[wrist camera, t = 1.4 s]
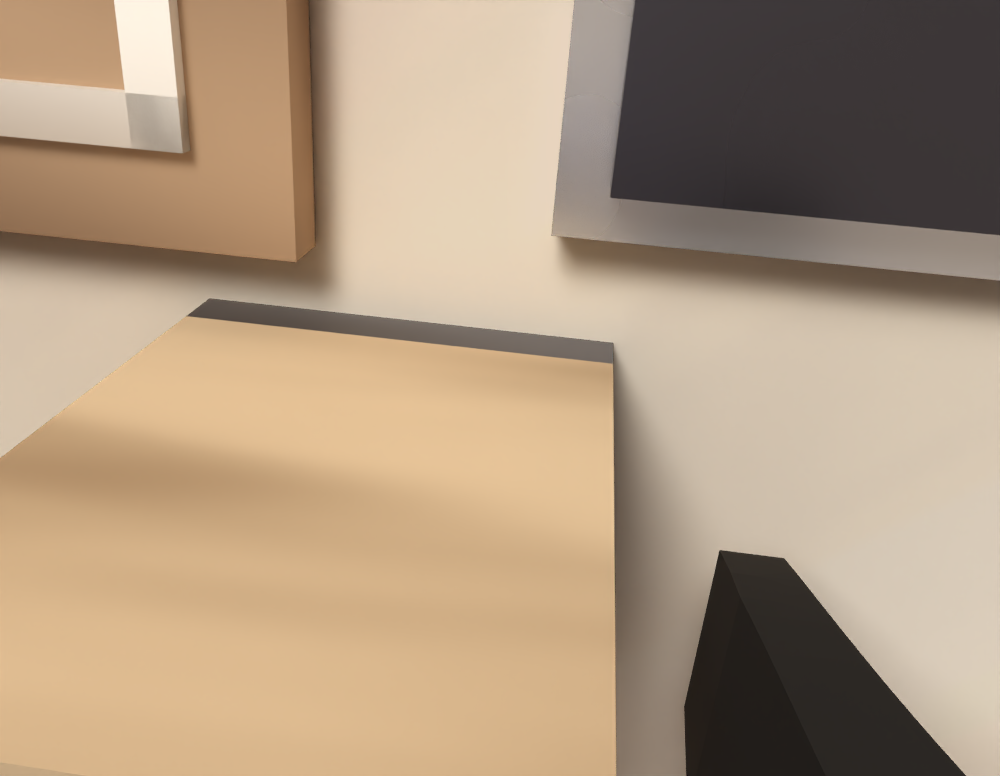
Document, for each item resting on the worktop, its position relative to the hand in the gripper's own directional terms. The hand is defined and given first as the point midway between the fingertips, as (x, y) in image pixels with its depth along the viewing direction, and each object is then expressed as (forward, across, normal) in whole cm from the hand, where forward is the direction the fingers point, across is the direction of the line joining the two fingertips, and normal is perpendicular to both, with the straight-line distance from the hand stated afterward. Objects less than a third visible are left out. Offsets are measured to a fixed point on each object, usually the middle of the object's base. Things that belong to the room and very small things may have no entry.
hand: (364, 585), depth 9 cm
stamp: (+2, 0, 0) cm, 2 cm away
